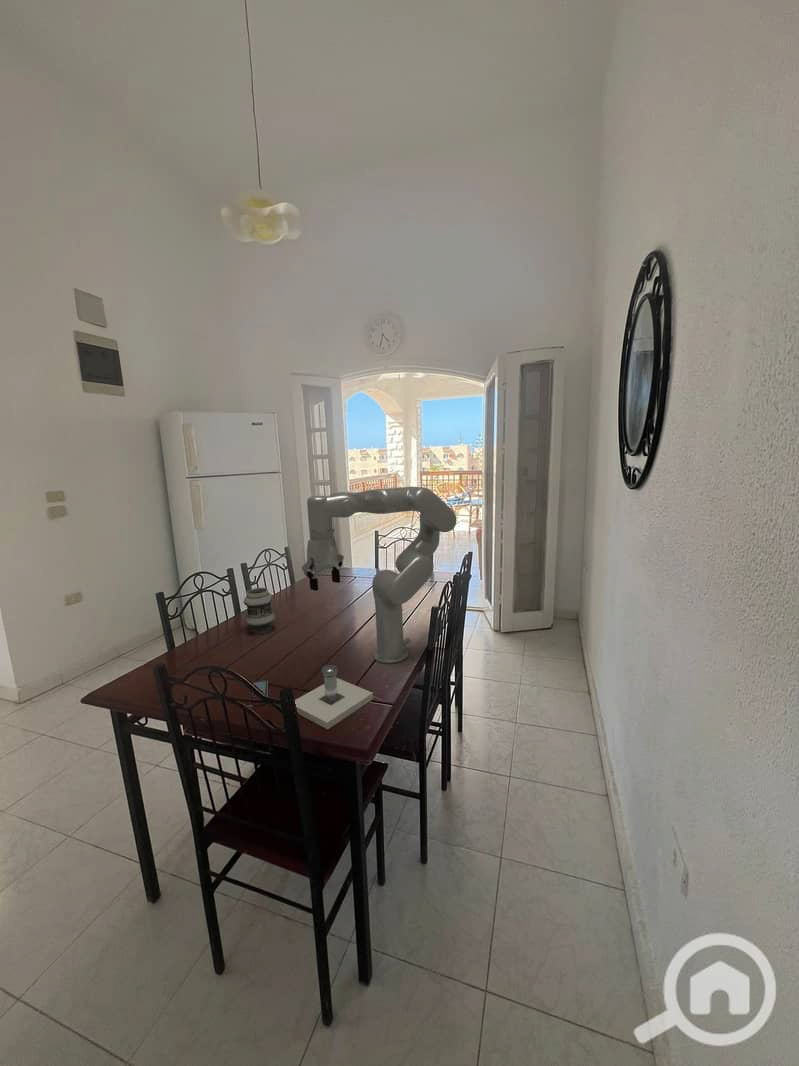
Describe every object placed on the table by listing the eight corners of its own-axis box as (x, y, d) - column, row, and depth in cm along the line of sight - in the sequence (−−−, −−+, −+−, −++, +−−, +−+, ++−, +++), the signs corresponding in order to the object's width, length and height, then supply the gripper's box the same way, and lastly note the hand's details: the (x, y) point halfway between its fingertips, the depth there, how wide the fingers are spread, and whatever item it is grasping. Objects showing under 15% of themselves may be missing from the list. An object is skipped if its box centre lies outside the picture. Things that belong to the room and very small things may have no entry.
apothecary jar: (240, 633, 181) (236, 592, 178) (261, 623, 191) (258, 584, 188) (261, 638, 175) (257, 596, 172) (282, 627, 185) (278, 587, 182)
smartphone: (267, 679, 141) (267, 702, 126) (268, 682, 141) (267, 705, 127) (244, 683, 139) (240, 707, 124) (244, 686, 139) (241, 710, 125)
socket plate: (336, 683, 137) (335, 677, 137) (373, 699, 127) (372, 692, 127) (290, 709, 123) (289, 703, 123) (327, 729, 114) (327, 722, 113)
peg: (332, 698, 129) (330, 663, 127) (343, 703, 126) (341, 667, 124) (320, 705, 125) (318, 669, 123) (331, 710, 122) (329, 673, 120)
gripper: (332, 529, 146) (336, 578, 149) (292, 538, 133) (297, 591, 136) (348, 531, 142) (352, 580, 145) (308, 540, 128) (313, 595, 131)
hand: (325, 585), depth 140 cm, fingers open, 9 cm apart
